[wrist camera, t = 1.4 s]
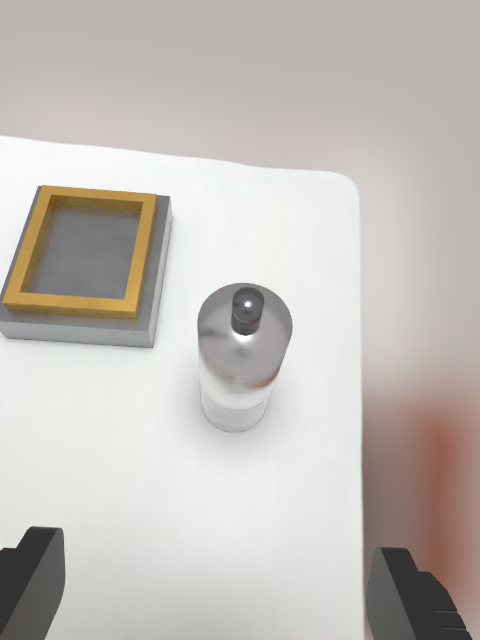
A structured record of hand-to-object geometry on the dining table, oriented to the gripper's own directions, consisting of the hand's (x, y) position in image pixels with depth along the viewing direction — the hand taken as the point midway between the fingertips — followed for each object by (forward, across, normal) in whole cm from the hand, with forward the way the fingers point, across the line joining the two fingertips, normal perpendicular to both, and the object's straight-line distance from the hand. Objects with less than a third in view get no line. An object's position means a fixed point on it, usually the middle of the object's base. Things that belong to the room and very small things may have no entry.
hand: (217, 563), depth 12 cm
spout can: (+24, -1, +7) cm, 25 cm away
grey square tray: (+31, +12, -1) cm, 34 cm away
